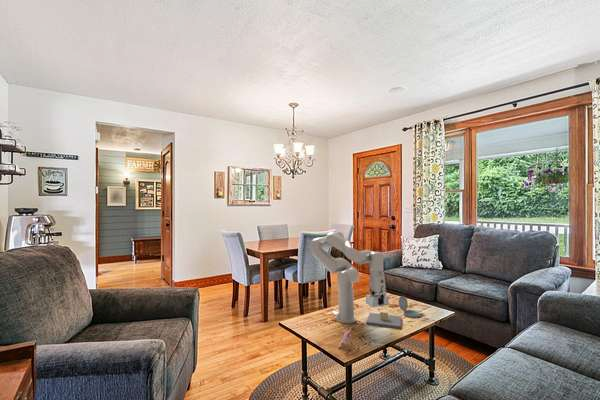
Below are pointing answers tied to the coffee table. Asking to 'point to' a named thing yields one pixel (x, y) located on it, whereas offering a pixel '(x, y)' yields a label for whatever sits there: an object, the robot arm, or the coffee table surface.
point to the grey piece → (384, 320)
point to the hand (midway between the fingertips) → (377, 302)
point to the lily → (346, 337)
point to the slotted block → (376, 300)
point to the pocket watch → (404, 305)
